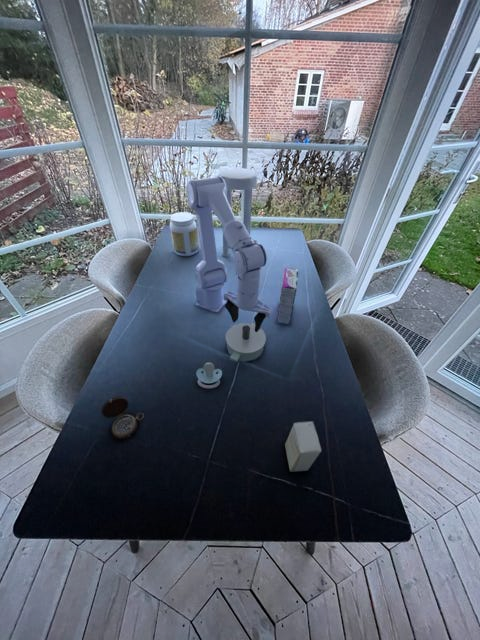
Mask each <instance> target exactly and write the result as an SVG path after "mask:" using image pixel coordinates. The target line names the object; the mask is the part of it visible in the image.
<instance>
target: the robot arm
mask: <svg viewBox="0 0 480 640" xmlns="http://www.w3.org/2000/svg"><path fill="white" fill-rule="evenodd" d="M185 192H186V199H187V204H188V207H189V210H191V211H194V213H195V219H196V225H197V234H198V240H199V245H200V246H199V247H200V250H201V257H202V260H201V261H200V262H199V263H198V264H197V265H196V267H195V279H196V282H197V283H196V286H195V298H196V304H195V306H197V307H200V308H203V309H206V310H209V311H211V312H214V313H219V312H220V310H221V309H222V308H223V307H224V308H225V309H226V310H227V312H228V313H229V316H230V319H231V320H232V323H236V322H237V321H238V319H239V313H240V312H239V309H240V310H242V311H245V312H253V313H256V314H255V316H254V317H253V320H254V322H255V332H258V330H259V329H260V328H261V327H262V324H263V322H264V320H265V319H266V318H268V319H269V318H270V317H271V316H272V314H273V308H272V307H270V306H268V305H267V304H265V302H263V301H261V300H260V299H259V292H260V283H261V270H262V269H261V268H262V267H265V266H266V265H267V260H268V259H267V251H266V249H265V247H264V245H263V244H262V243H260V242H258V241H257V240H256V239H255V240H254V239H253V237H252V236H251V233H250V234H249V232H248V231H247V229H246V227H245V225H244V224H243V220H239V219H237V218H236V216H235V214H234V212H233V210H232V209H233V208H232V209H231V207H230V205H229V203H228V201H227V188H226V183H225V181H224V179H223V178H222V177H221V176H218V175H217V176H212V177H205V178H199V179H189V180H188V181H187V183H186V186H185ZM213 213H214V215H215V216H216V218H217V219H218V221H219V222H220V223H221V225H222V227H223V226H224V230H223V229H222V236H223V235H224V237H225V239H226V240H227V242H228V244H229V246H230V247H229V249H231V252H232V253H233V255H232V257H233V258H232V259H233V263H234V267H235V275H236V276H237V284H236V285H237V286H236V287H237V289H236V290H237V291H236V292H231V291H225V293H223V287H224V286H225V283H227V281H228V272H227V269H226V264H225V263H224V262H223V261H222V260H220V259H219V258H218V253H217V244H216V236H215V228H214V219H213Z"/></svg>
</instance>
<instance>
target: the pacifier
mask: <svg viewBox="0 0 480 640" xmlns="http://www.w3.org/2000/svg"><path fill="white" fill-rule="evenodd" d="M202 372H203V373H202ZM222 375H223V371H222V370H221V369H220V368H215V365H214V364H213V363H212V362H206V363H204V365H203V367H201V368H198V369H197V370H196V378H197V379H198V380H197V385H198V386H199V387H201V388H203V389H215V388H217V387H218V386H220V384H221V380H220V379H221V378H222Z"/></svg>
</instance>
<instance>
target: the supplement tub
mask: <svg viewBox="0 0 480 640" xmlns="http://www.w3.org/2000/svg"><path fill="white" fill-rule="evenodd" d="M194 217H195V216H194V214H193V213H191V212H186V211H179V212H175V213H173V214H171V215H170V223H169V231H170V236H171V241H172V247H173V252H174V253H175V254H176V255H178V256H180V257H190V256H194V255H196V254H197V253H198V251H199V249H200V246H199V245H200V244H199V234H198V226H197V221H195V218H194Z"/></svg>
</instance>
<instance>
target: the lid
mask: <svg viewBox="0 0 480 640" xmlns="http://www.w3.org/2000/svg"><path fill="white" fill-rule="evenodd" d="M225 342H226V346H227V345H228V346H229V347H230V348H231V349H232V350H234V351H236V352H238V353H242V354H251V353H255V352H257V351H259V350H260V349H262V348H263V346H265V345H266V342H267V336H266V333H265V332H264V330H263V329H262V328H261V327H260V329H259V330H258V332H255V325H254V324H252V323H250V322H242V323H241V322H240V323H237V324H234V325H232V326H230V327H229V329H228V330H227V331H226V333H225ZM263 349H264V348H263Z"/></svg>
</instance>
